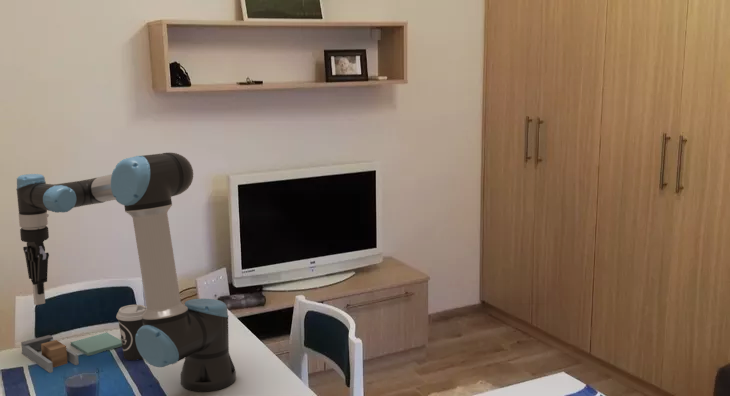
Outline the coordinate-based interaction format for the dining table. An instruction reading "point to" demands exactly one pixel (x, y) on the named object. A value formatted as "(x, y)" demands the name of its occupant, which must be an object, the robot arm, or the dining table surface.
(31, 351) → the grey channel
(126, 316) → the coffee cup
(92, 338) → the teal coaster
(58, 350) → the walnut block
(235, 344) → the dining table surface
